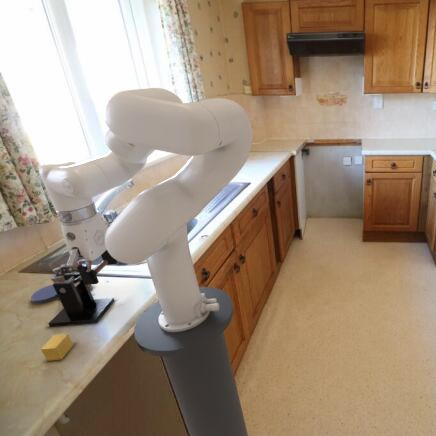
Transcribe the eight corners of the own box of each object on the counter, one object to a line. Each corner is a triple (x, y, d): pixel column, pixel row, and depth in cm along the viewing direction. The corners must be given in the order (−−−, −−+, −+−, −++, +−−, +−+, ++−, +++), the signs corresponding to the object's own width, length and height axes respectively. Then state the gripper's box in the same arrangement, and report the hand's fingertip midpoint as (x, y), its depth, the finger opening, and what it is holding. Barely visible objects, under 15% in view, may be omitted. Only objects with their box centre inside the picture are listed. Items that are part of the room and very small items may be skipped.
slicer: (114, 301, 93) (101, 266, 88) (96, 323, 85) (80, 286, 80) (72, 304, 93) (55, 270, 88) (49, 326, 85) (30, 290, 80)
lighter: (60, 301, 94) (46, 273, 90) (60, 296, 97) (46, 268, 92) (93, 290, 99) (81, 262, 94) (92, 285, 101) (80, 257, 97)
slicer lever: (110, 264, 86) (103, 257, 85) (99, 274, 81) (92, 268, 81) (75, 283, 88) (68, 277, 87) (63, 295, 83) (56, 288, 82)
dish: (71, 286, 101) (70, 282, 101) (54, 302, 94) (52, 299, 93) (45, 287, 101) (43, 284, 100) (25, 304, 93) (23, 301, 93)
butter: (60, 346, 78) (54, 335, 77) (73, 344, 79) (68, 333, 77) (47, 360, 74) (40, 349, 73) (61, 359, 75) (55, 348, 73)
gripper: (70, 227, 69) (97, 293, 77) (113, 198, 85) (132, 255, 92) (33, 230, 69) (65, 295, 76) (83, 200, 85) (105, 257, 92)
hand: (102, 273), depth 84 cm, fingers open, 8 cm apart
